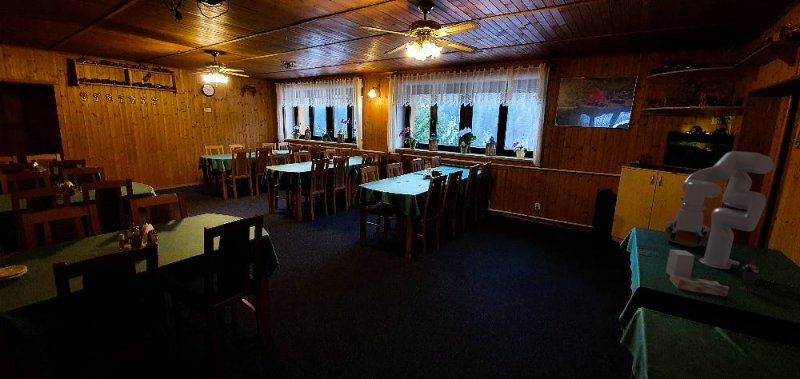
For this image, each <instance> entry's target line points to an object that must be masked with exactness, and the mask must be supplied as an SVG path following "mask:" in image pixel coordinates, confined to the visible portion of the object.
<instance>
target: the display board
mask: <svg viewBox="0 0 800 379" xmlns="http://www.w3.org/2000/svg"><path fill="white" fill-rule="evenodd" d="M669 276H670V277H669V280H670V282H671V283H672V284H673V285H674V287H675V288H676V289H678V290H684V291H689V292H695V293H703V294H707V295H708V294H709V295H715V296H719V295H720V296H721V297H725V296H726V297H728V293H729V289H730V287H729V286H727V285H721V284H720V283H719V282H718V281H714V280H713V281H712V280H708V279H701V278H695V277H694V278H693V277H691V276H690V277H683V276H677V275H669Z"/></svg>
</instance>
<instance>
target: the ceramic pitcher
mask: <svg viewBox="0 0 800 379" xmlns="http://www.w3.org/2000/svg"><path fill="white" fill-rule="evenodd" d="M683 199H684V197H680V200H681V201H682V202H683ZM674 220H675V218H672V220H671V221H674ZM670 226H671V228H673V227H674V226H673V224H671V225H670ZM704 230H705V228H704V227H702V230H701V231H700V232H702V231H704ZM670 233H671V231H670V230H669V229H668V228H667V227H666V228H665V230H664V237H665V239H666V240H668V241H670V242H673V243H675V244H679V245H682V246H683V247H684V246H685V247H689V248H690V247H691V248H696V247H700V246H703V245H704V243H705V242H706V237H707V236H706V235H707V234H705V235H703V236H702V237H701V241H700V242H699V244H696V243H695V242H694V240H695V236H696V235H697V233H696V232H691V231H683V230H678V231H676V232H675V233H676V236H675V240H674V241H672V240H671V239H670Z"/></svg>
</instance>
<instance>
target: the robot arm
mask: <svg viewBox="0 0 800 379" xmlns="http://www.w3.org/2000/svg"><path fill="white" fill-rule="evenodd" d="M774 164H775V163H774V160H773V159H772V158H771V156H767V155H764V154H763V153H759V152H751V151H750V152H749V151H741V150H740V151H739V150H737V151H735V150H732V151H727V152H726V153H725V154H724V155H722V156H721V157H720V159H718V161H716V163H715V164H713V166H711V167H707V168H703V169H700V170H697V171H694V172H693V173H691V174H689V176H688V177H687V178H686V179H685V180H684V182H683V183H682V186H681V190H682V192H683V194H684V195H683V198H684V199H683V201H682V204H681V208H678V210H677V211H676V214H675V217H674V219H675V220H674V221H672V220H671V221H666V222H665V225H666V228H668V229H669V230H670V231H671V233H670V239H671V240H672V241H674V240H675V236H676V233H675V232H676V231H678V230H683V231H691V232H696V233H697V235H696V236H695V240H694V242H695V243H696V244H699V242H700V241H701V237H702V236H703V235H705V234H706V235H707V234H708V232H709V235H708V240H707V242H706V247H705V252H704V256H703V257H700V258H699V263H701V264H703V265H705V266H707V267H711V268H713V269H720V270H730V269H731V268H732V266H731V265H734V266H740V261H737V260H734V259H730V254H731V251H732V250H731V249H732V247H733V243H734V242H733V241H734V239H735V234H734V232H733V230H732V229H735V230H740V231H744V232H753V231H754V230H755V229H756V228H757V226H758V224H759V221H760V218H761V216H762V214H763V211H764V209H765V206H766V203H767V198H766V196H765V194H764V193H761V192H758V191H757V192H756V191H750V189H751V187H752V185H753V181H752V179H751V177H750V175H749V174H748V173H751V174H760V175H764V174H765V175H766V174H768V173H770V172H771V171H772V169H773V168H774ZM727 180H728V183H727V186H726V188H725V190H724V193H723V195H722V199H721V202H722V204H724V205H725V206H727V207H717V208H715V209H713V210H712V211H711V215H710V218H711V220H710V227H709V226H708V225H705V224H703V223H704V211H705V210H707V207H706V206H704V204H705V203H704V202H705V200H706V199H705V198H707V199H713V198H717V197H719V196H720V195H721V192H722V186H720V184H718V183H716V182H718V181H727ZM728 207H731V208H728ZM732 208H733V209H732ZM735 208H737V209H735ZM738 209H742V210H743V211H742V210H738ZM703 210H704V211H703ZM744 210H747V211H744ZM671 224H673V226H674V227H673V228H671V226H670V225H671ZM702 227H704V228H705V230H704V231H702V232H700V231H701V230H702ZM672 241H671V242H672Z"/></svg>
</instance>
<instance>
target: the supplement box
mask: <svg viewBox="0 0 800 379" xmlns="http://www.w3.org/2000/svg"><path fill="white" fill-rule="evenodd" d="M694 261H695V255H694V254H692V253H690V252H689V251H687V250H684V249H683V250H682V249H669V253H668V259H667V262H666V269H665V273H666V274H667V275H668V276H670V275H677V276H683V277H690V278H691V276H692V275H691V274H692V270H693V266H694V263H695V262H694Z"/></svg>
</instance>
